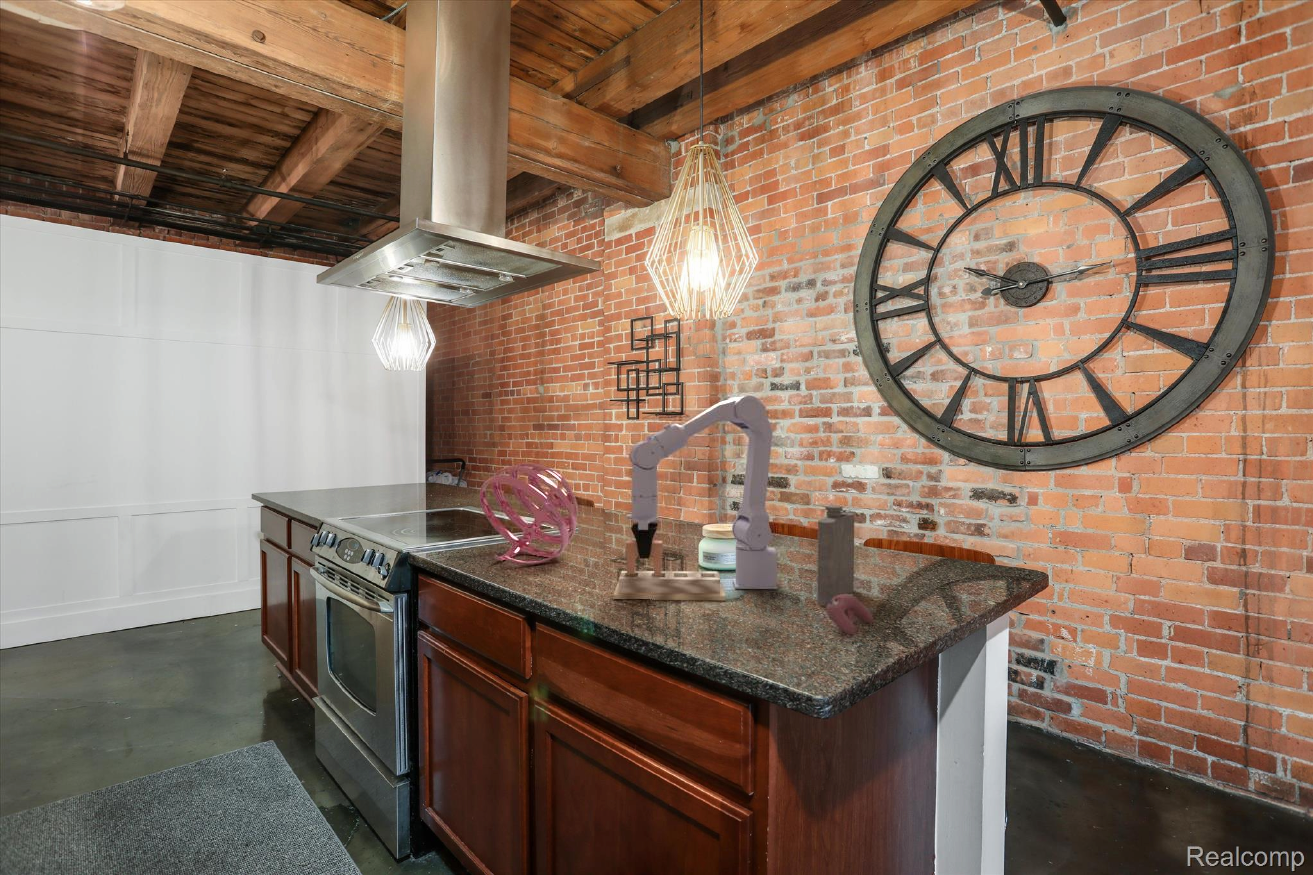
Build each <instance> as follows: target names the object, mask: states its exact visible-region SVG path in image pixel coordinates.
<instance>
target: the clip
mask: <svg viewBox="0 0 1313 875" xmlns="http://www.w3.org/2000/svg"><path fill="white" fill-rule="evenodd" d="M625 557H626V571H627V574H634V573H635V571H636V558H638V557H639V554H638V548H637V543H636V539H635V540H629V539H628V540H626V542H625ZM651 557H652V558H653V571H654V574H661V571H662V557H663V540H652V545H651V552H650V557H649V558H651ZM639 558H640V557H639Z"/></svg>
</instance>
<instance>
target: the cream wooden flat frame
mask: <svg viewBox="0 0 1313 875" xmlns="http://www.w3.org/2000/svg"><path fill="white" fill-rule="evenodd" d="M613 592H614V593H613V600H614V599H650V600H649V601H726V593H725V589H724V586H723V583H722V582H721V578H720V574H719V571H715V570H714V571H708V570H706V571H699V570H698V571H697V570H695V571H693V570H691V571H687V570H686V571H684V570H683V571H679V570H677V571H676V570H673V571H672V570H665V571H664V570H661V574H654V570H635V573H634V574H627V570H621V572H620V575H619V578H618V581H617V585H616V587H615V590H614V591H613ZM651 599H652V600H651Z"/></svg>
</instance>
